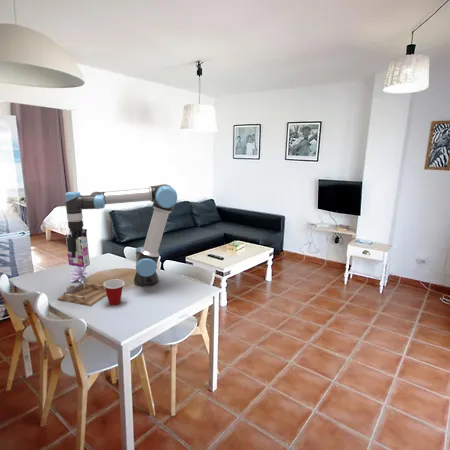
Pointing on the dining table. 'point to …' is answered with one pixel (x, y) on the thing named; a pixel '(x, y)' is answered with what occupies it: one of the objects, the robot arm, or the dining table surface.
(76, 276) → the water lily
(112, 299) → the plastic cup
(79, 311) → the dining table surface
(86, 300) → the board
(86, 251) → the candy bar box
